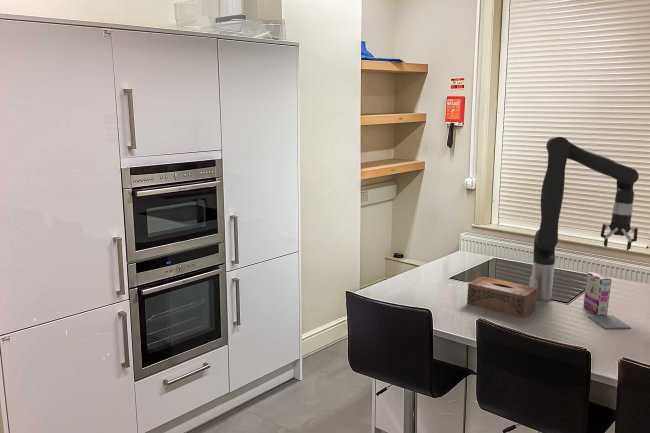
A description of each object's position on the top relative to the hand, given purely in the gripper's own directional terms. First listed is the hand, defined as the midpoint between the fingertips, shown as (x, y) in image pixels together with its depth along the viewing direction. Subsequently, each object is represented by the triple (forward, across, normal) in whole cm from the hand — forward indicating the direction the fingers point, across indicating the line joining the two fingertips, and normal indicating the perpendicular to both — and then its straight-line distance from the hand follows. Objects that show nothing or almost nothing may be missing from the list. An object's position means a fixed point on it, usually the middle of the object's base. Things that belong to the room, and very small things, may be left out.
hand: (616, 248), depth 245 cm
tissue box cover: (+28, -43, -26) cm, 58 cm away
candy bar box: (+27, -5, -12) cm, 30 cm away
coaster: (+27, 0, -24) cm, 36 cm away
